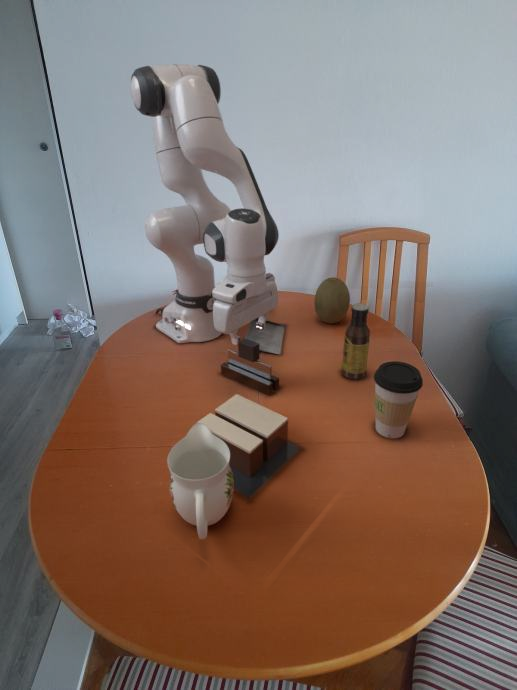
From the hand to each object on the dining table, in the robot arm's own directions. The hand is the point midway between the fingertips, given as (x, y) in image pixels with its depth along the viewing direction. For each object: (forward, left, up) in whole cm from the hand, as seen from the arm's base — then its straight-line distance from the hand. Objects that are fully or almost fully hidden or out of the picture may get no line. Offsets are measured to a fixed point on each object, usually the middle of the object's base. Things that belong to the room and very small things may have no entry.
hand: (248, 336), depth 110 cm
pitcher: (+21, -38, -14) cm, 45 cm away
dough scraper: (0, 0, -13) cm, 13 cm away
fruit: (-1, +43, -14) cm, 45 cm away
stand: (0, 0, -13) cm, 13 cm away
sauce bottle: (+20, +19, -14) cm, 31 cm away
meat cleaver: (-15, +27, -14) cm, 34 cm away
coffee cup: (+37, +4, -14) cm, 39 cm away
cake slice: (+15, -24, -13) cm, 31 cm away
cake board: (+15, -22, -13) cm, 30 cm away
